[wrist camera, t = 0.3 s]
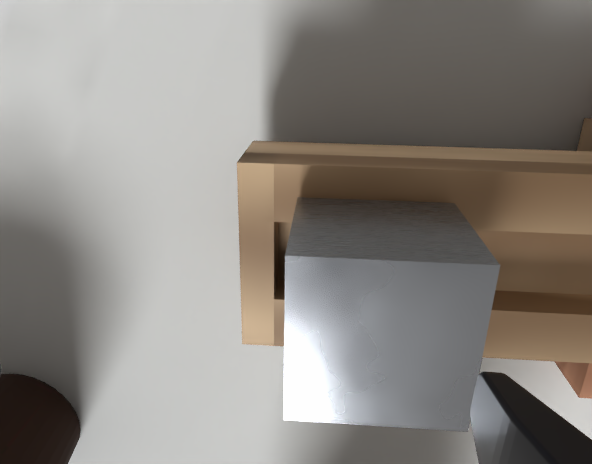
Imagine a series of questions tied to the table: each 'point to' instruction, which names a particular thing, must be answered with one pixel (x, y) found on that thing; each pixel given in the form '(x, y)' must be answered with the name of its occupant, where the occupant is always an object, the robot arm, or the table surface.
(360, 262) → the grey block
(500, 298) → the light wood rectangular frame
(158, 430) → the table surface
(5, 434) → the coffee mug
